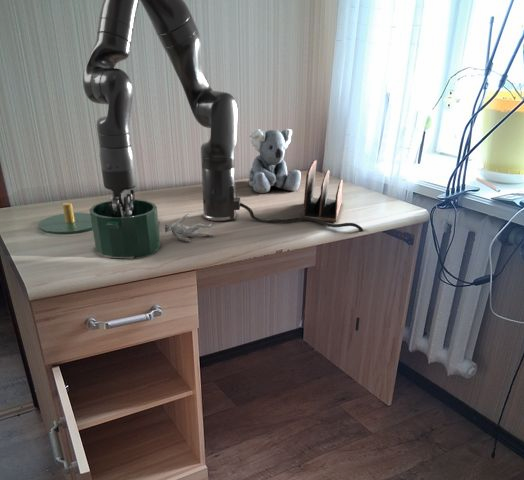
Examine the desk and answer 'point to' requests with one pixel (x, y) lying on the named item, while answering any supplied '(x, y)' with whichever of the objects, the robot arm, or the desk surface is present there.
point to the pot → (126, 231)
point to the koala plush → (272, 162)
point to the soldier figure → (186, 229)
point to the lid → (66, 222)
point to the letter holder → (321, 198)
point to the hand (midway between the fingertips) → (127, 237)
